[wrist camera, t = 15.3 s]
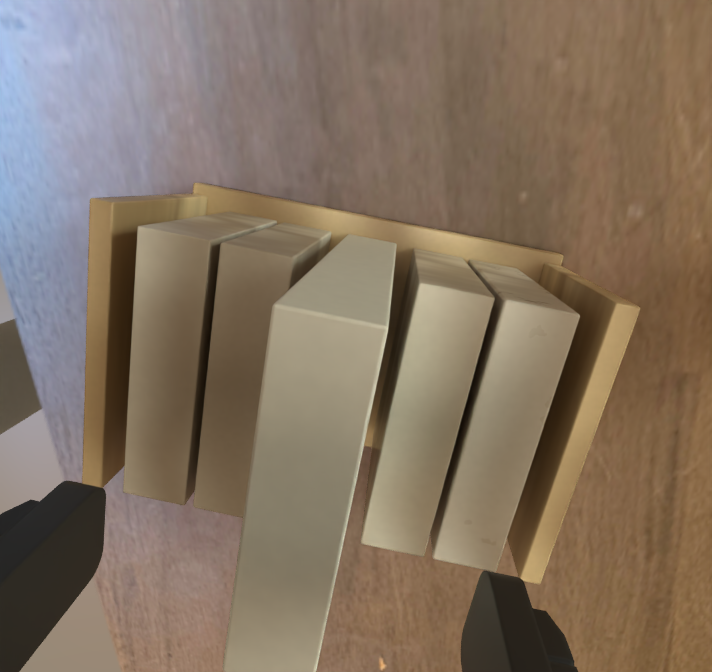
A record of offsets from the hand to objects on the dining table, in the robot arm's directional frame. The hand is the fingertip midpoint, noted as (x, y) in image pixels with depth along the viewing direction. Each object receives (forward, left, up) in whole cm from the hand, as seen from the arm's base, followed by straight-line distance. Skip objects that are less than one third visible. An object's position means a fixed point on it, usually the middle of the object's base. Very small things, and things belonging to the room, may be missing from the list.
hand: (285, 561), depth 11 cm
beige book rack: (0, 0, -17) cm, 17 cm away
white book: (0, 0, -16) cm, 16 cm away
